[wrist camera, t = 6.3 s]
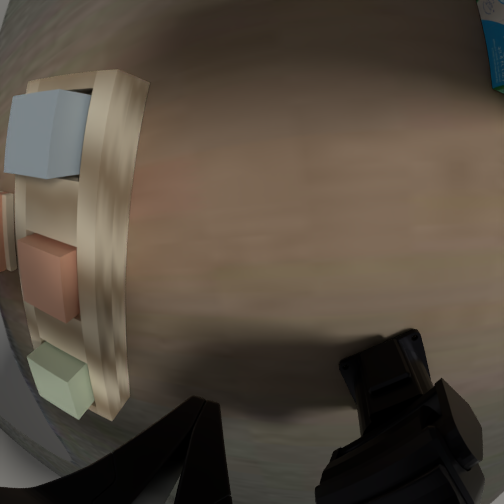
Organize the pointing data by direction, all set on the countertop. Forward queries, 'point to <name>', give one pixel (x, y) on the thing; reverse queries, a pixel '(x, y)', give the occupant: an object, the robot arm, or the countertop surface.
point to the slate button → (46, 133)
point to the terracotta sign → (7, 233)
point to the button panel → (91, 229)
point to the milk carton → (494, 38)
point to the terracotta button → (49, 276)
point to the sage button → (61, 379)
